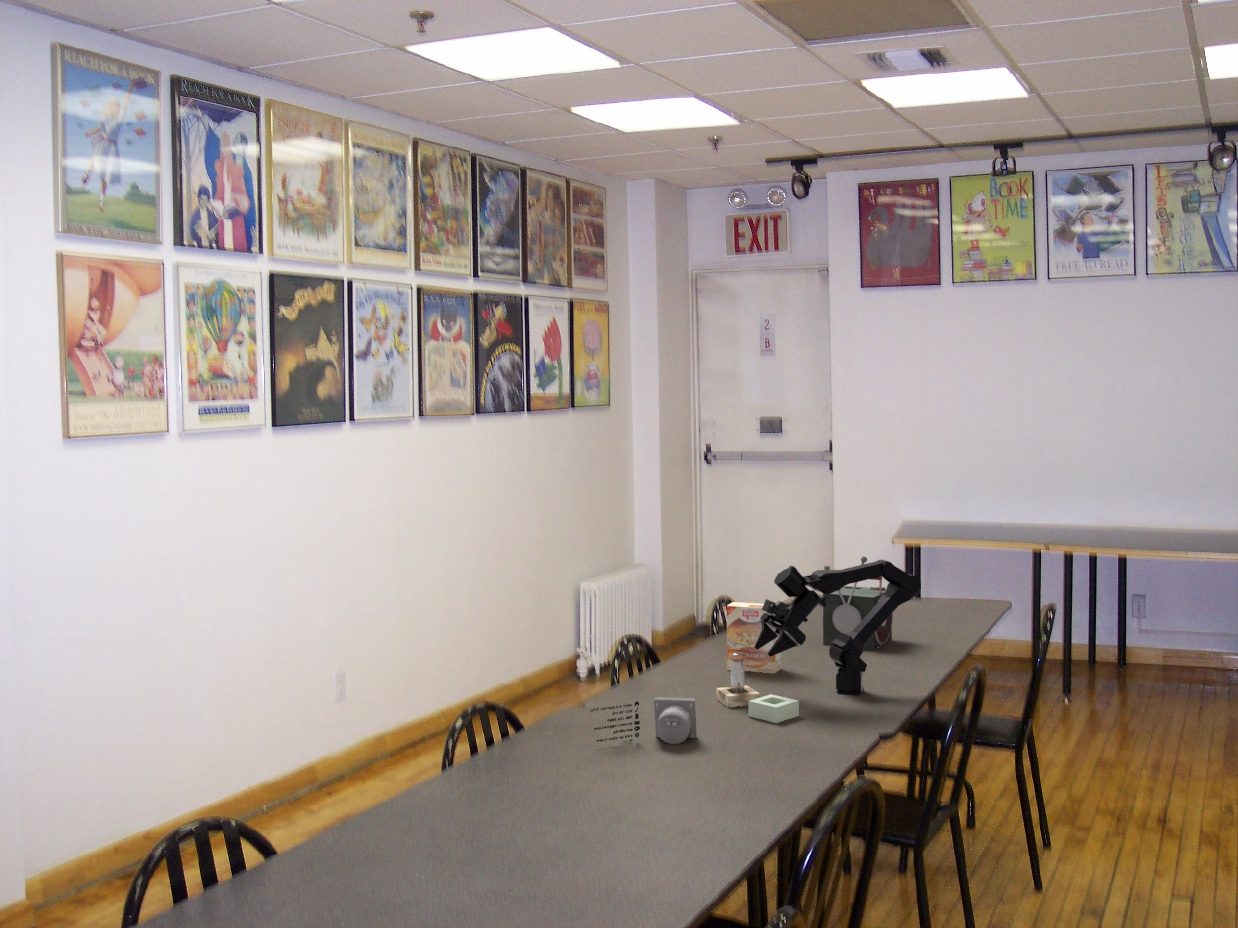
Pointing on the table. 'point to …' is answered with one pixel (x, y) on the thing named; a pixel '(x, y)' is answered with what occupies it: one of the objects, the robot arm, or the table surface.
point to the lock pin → (737, 672)
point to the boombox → (854, 612)
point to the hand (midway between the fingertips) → (762, 651)
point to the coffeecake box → (749, 638)
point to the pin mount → (736, 696)
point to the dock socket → (773, 708)
